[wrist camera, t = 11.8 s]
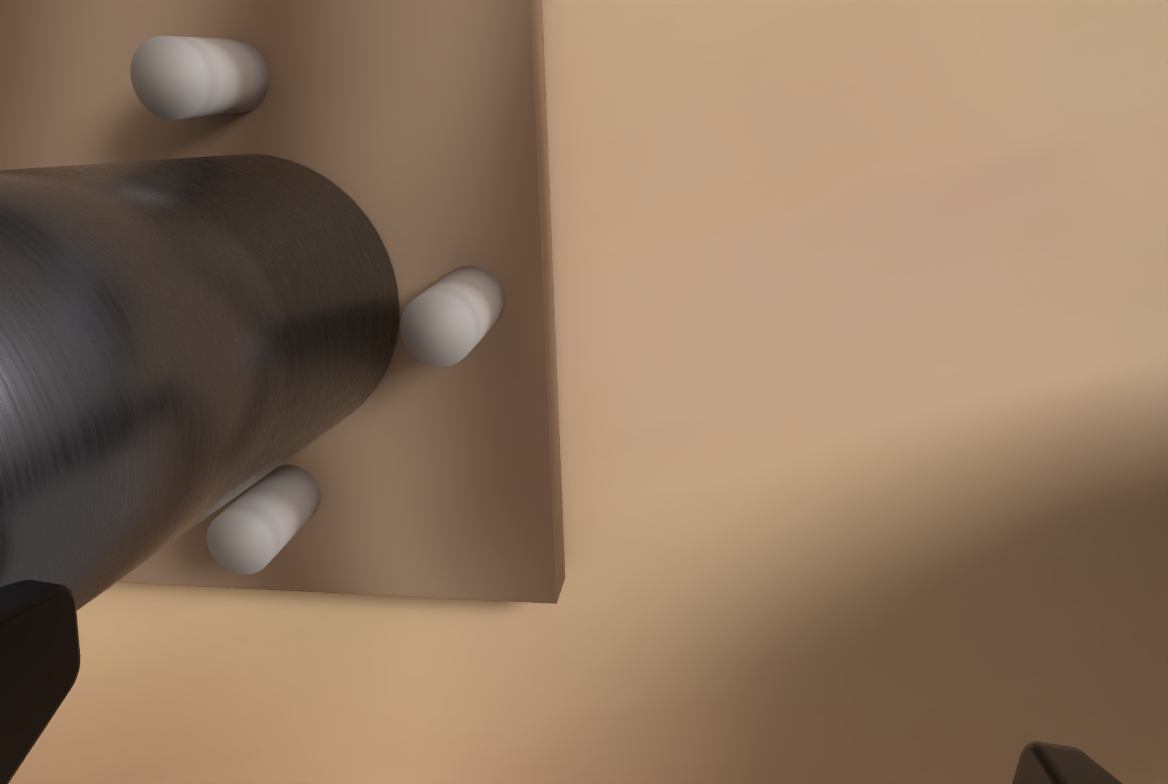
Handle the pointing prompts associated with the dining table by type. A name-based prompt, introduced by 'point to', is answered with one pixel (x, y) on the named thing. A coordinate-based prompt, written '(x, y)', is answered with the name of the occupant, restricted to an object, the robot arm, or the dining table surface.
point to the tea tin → (171, 348)
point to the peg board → (410, 235)
